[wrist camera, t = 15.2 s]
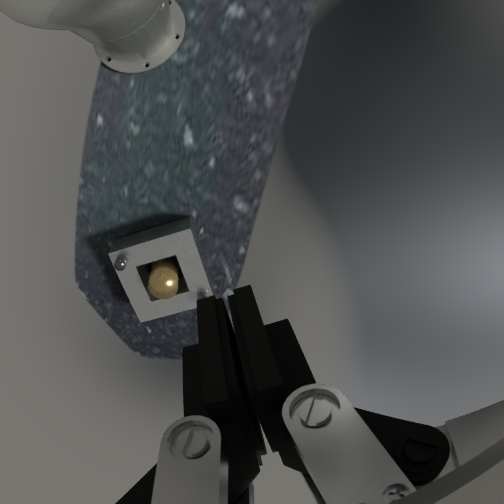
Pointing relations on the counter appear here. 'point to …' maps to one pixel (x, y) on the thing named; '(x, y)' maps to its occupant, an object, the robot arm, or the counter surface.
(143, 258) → the jig
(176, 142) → the counter surface
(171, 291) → the brass cylinder
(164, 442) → the robot arm
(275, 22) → the counter surface
